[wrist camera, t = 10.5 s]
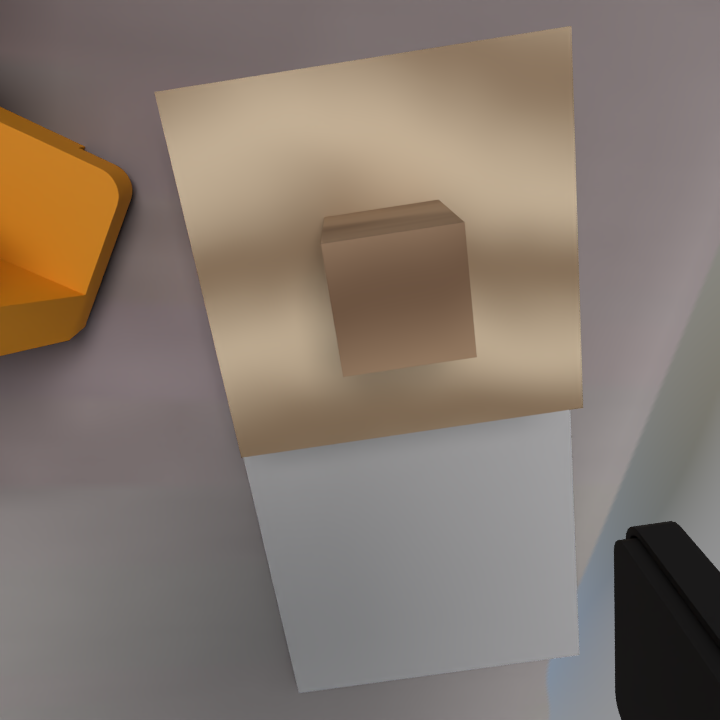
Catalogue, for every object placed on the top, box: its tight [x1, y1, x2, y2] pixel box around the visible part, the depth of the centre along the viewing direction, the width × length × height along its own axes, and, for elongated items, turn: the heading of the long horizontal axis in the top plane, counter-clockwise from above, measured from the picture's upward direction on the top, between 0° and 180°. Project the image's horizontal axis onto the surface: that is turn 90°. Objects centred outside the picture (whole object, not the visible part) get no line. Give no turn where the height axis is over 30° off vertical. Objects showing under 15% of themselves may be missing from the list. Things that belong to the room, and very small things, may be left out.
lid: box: [155, 26, 583, 458], centre depth 22 cm, size 14×14×6 cm
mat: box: [243, 410, 579, 693], centre depth 35 cm, size 16×16×1 cm
